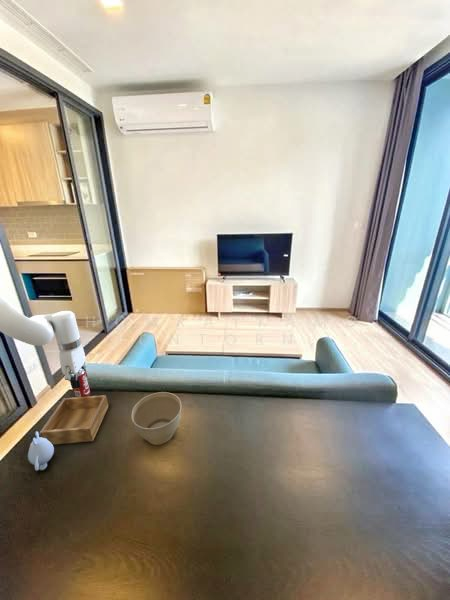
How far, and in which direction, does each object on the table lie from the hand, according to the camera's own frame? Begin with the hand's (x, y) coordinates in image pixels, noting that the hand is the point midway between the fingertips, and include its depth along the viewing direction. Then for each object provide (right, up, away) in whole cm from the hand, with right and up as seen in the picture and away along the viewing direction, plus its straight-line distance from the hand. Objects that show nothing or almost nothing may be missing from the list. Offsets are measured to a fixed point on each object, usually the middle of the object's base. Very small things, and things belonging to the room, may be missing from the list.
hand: (79, 382), depth 100 cm
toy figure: (+3, -18, -24) cm, 30 cm away
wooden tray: (+5, -12, -10) cm, 16 cm away
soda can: (0, -7, +3) cm, 7 cm away
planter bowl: (+36, -13, -14) cm, 41 cm away
